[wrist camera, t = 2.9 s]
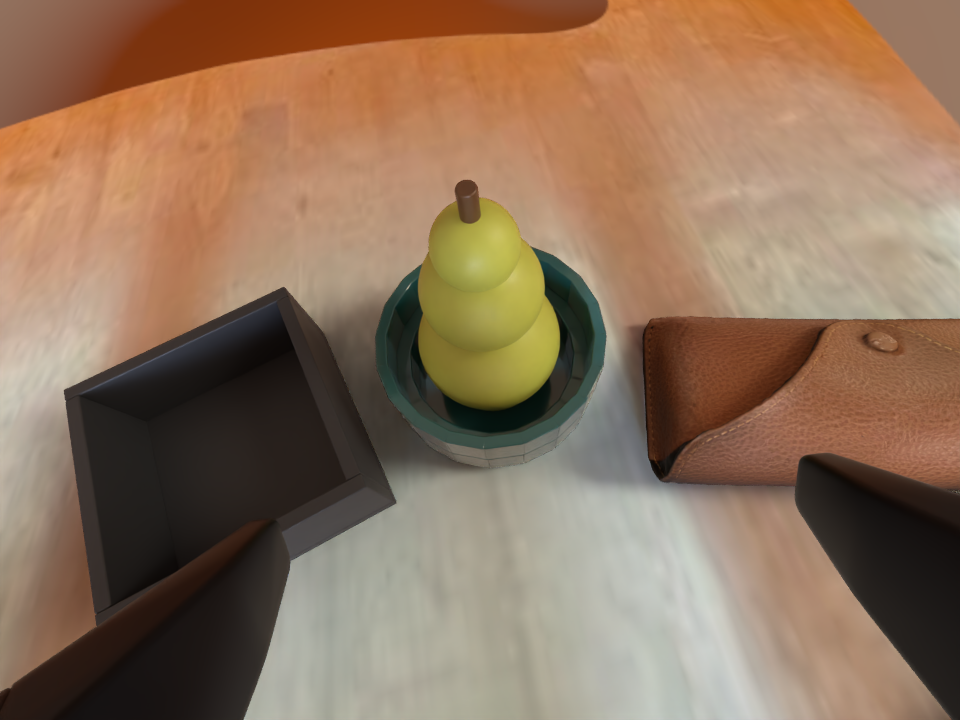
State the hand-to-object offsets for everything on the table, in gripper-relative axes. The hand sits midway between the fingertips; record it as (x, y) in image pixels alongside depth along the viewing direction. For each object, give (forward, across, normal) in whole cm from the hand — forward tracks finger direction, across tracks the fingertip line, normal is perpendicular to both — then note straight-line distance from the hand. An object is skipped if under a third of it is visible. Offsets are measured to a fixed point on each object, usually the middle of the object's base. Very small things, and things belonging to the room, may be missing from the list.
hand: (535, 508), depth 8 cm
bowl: (+15, +1, +4) cm, 16 cm away
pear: (+15, 0, +3) cm, 15 cm away
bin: (+13, +12, +6) cm, 19 cm away
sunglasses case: (+13, -15, +6) cm, 21 cm away
